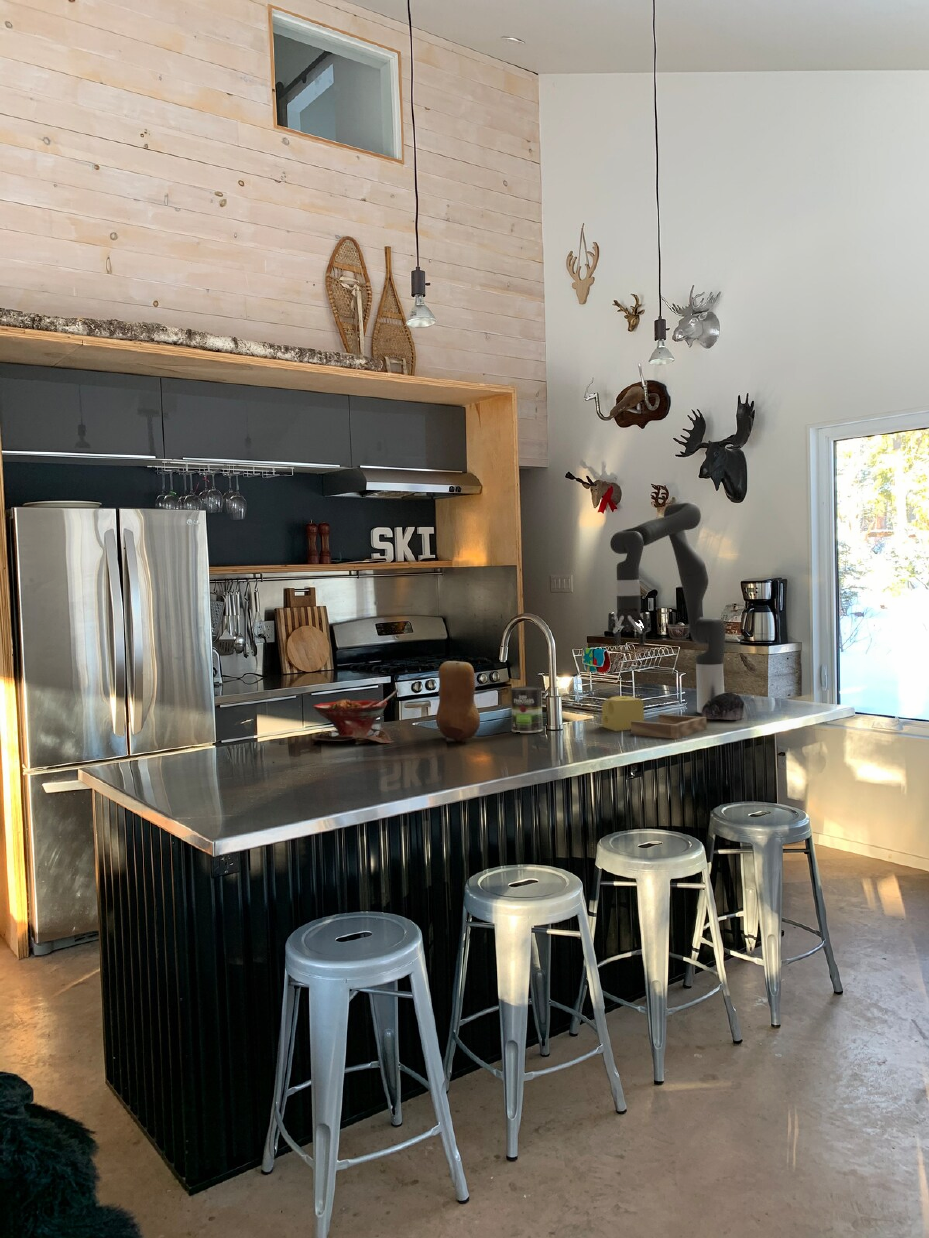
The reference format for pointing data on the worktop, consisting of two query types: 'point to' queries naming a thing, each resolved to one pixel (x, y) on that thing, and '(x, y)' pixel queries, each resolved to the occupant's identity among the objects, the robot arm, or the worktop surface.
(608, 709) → the cheese
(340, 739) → the stew
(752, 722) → the worktop surface
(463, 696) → the butternut squash
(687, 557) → the robot arm
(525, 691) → the coffee can
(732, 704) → the dark brown rock
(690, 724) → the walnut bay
